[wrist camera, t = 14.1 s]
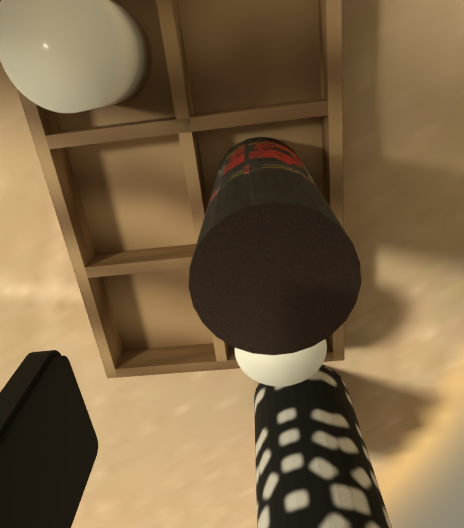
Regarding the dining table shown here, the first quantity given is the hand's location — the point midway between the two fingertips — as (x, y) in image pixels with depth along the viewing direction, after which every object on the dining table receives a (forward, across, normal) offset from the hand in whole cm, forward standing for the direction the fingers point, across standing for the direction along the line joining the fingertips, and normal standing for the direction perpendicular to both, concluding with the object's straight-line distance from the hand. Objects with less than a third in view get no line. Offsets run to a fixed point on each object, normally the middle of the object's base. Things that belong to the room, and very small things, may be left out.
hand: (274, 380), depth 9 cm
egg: (+20, +8, -8) cm, 23 cm away
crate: (+21, +3, +1) cm, 21 cm away
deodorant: (+20, -1, +1) cm, 20 cm away
